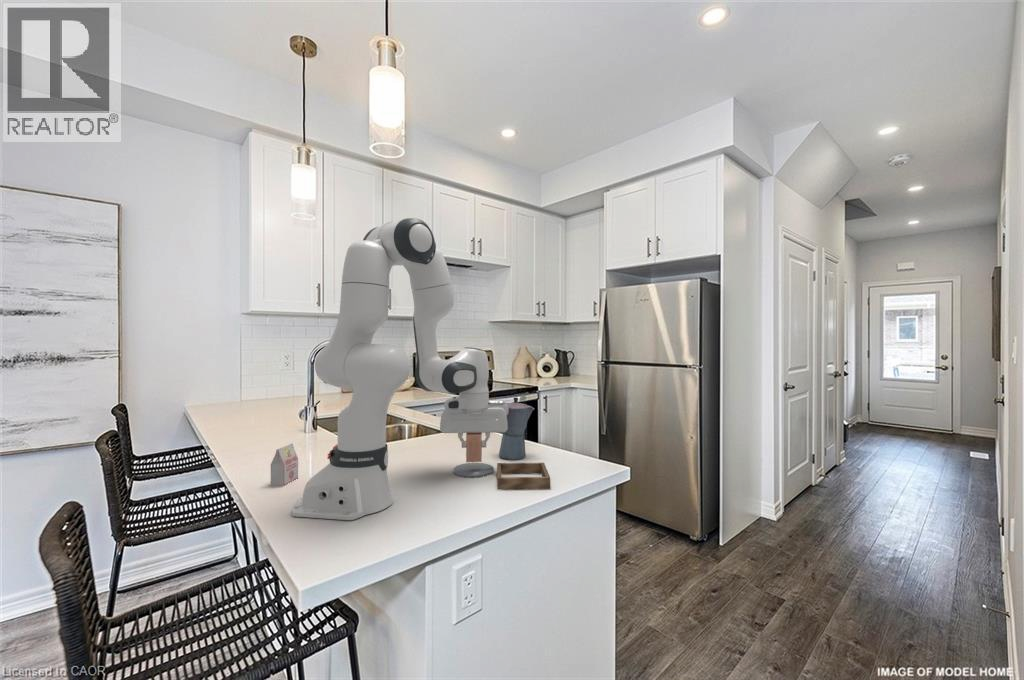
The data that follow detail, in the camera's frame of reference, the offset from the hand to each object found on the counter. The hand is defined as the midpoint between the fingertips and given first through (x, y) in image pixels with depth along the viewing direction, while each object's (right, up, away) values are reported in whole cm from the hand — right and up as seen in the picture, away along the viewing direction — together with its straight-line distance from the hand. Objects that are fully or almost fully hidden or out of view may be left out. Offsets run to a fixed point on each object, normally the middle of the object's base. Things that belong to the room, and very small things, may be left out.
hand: (474, 447), depth 134 cm
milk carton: (-52, -8, -11) cm, 53 cm away
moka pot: (+11, -7, +15) cm, 20 cm away
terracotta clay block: (0, -4, 0) cm, 4 cm away
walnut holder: (+14, -7, -8) cm, 18 cm away
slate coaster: (0, -7, 0) cm, 7 cm away
